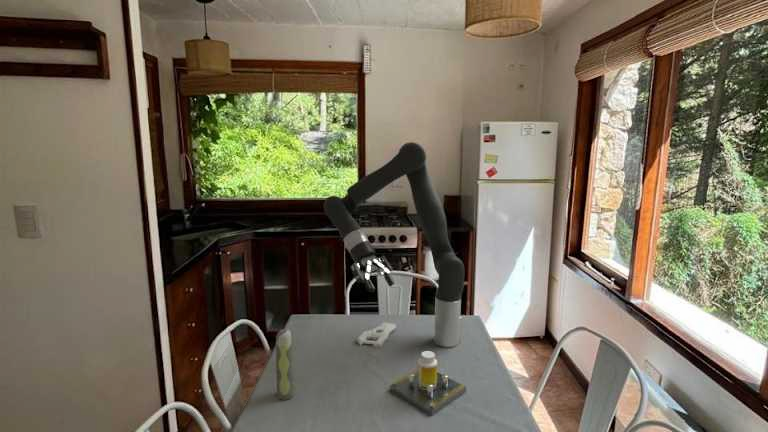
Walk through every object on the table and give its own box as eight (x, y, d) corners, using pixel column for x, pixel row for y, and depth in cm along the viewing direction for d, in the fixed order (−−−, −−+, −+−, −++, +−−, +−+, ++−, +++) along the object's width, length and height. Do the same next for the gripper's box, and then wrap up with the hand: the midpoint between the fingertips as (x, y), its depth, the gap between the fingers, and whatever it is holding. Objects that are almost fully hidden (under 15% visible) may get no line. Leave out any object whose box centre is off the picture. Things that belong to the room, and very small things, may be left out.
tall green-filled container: (293, 399, 117) (291, 334, 113) (276, 401, 116) (273, 335, 113) (294, 389, 122) (292, 326, 118) (277, 391, 121) (275, 327, 117)
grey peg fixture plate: (424, 370, 133) (425, 355, 132) (466, 391, 122) (466, 376, 121) (389, 390, 122) (390, 374, 121) (431, 415, 111) (432, 398, 110)
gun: (375, 317, 165) (398, 322, 161) (375, 325, 166) (398, 330, 162) (354, 338, 149) (379, 344, 145) (354, 347, 150) (379, 353, 146)
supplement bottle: (440, 388, 120) (441, 356, 118) (424, 393, 118) (425, 360, 116) (429, 378, 125) (430, 347, 123) (414, 383, 123) (414, 352, 121)
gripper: (347, 243, 129) (372, 287, 123) (379, 236, 139) (404, 277, 133) (337, 256, 134) (360, 299, 128) (369, 249, 144) (392, 288, 138)
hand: (382, 288), depth 130 cm, fingers open, 8 cm apart
